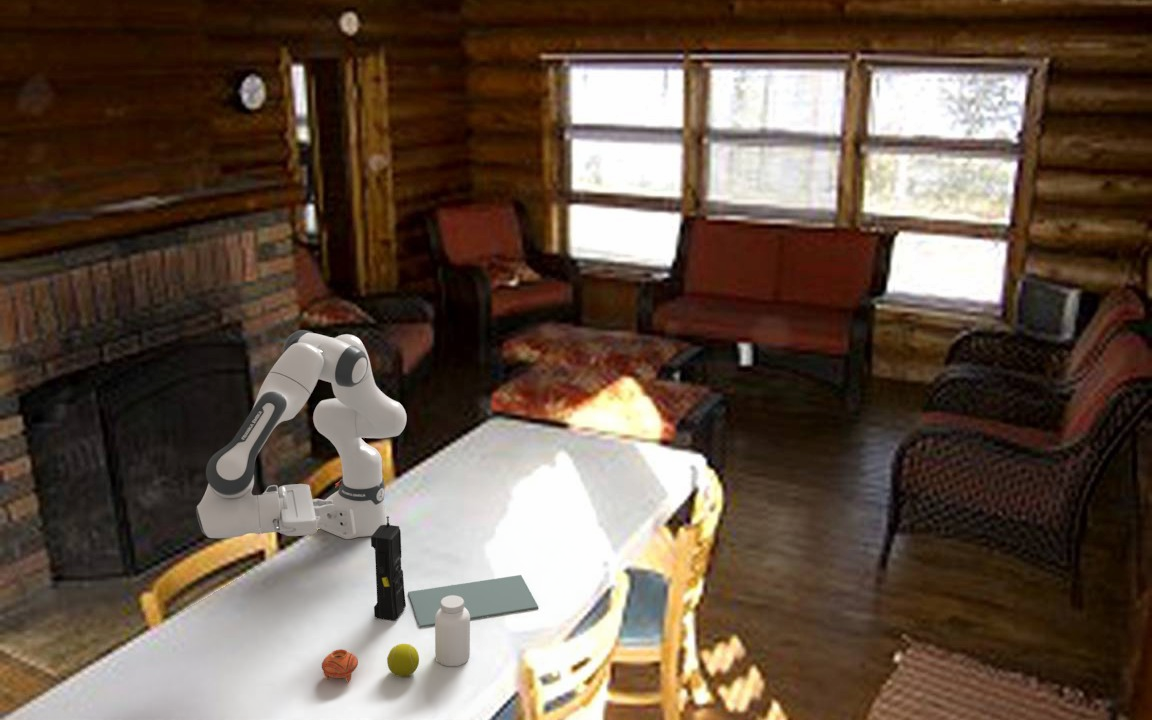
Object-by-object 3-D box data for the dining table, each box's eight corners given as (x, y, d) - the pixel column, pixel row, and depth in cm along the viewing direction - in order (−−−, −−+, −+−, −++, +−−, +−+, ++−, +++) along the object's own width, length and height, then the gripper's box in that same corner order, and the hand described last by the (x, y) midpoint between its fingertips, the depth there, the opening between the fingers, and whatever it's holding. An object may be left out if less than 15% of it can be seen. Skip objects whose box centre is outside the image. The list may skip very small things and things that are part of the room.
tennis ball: (420, 664, 234) (420, 637, 231) (417, 683, 227) (416, 656, 225) (390, 663, 233) (389, 637, 231) (385, 682, 227) (384, 655, 224)
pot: (327, 691, 223) (323, 662, 222) (321, 678, 230) (317, 650, 229) (363, 682, 226) (359, 653, 225) (356, 669, 233) (352, 641, 232)
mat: (419, 627, 247) (419, 625, 247) (408, 593, 262) (408, 591, 261) (538, 608, 257) (538, 606, 256) (521, 576, 271) (521, 574, 271)
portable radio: (395, 624, 248) (392, 532, 240) (372, 621, 249) (368, 529, 241) (407, 607, 256) (404, 517, 248) (384, 604, 257) (380, 514, 249)
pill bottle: (455, 671, 231) (455, 614, 226) (428, 660, 235) (427, 603, 230) (477, 654, 237) (476, 598, 233) (450, 643, 241) (449, 587, 237)
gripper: (273, 520, 224) (337, 512, 228) (269, 482, 242) (328, 475, 247) (275, 546, 226) (339, 538, 230) (270, 506, 244) (329, 499, 249)
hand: (333, 505), depth 239 cm, fingers closed
